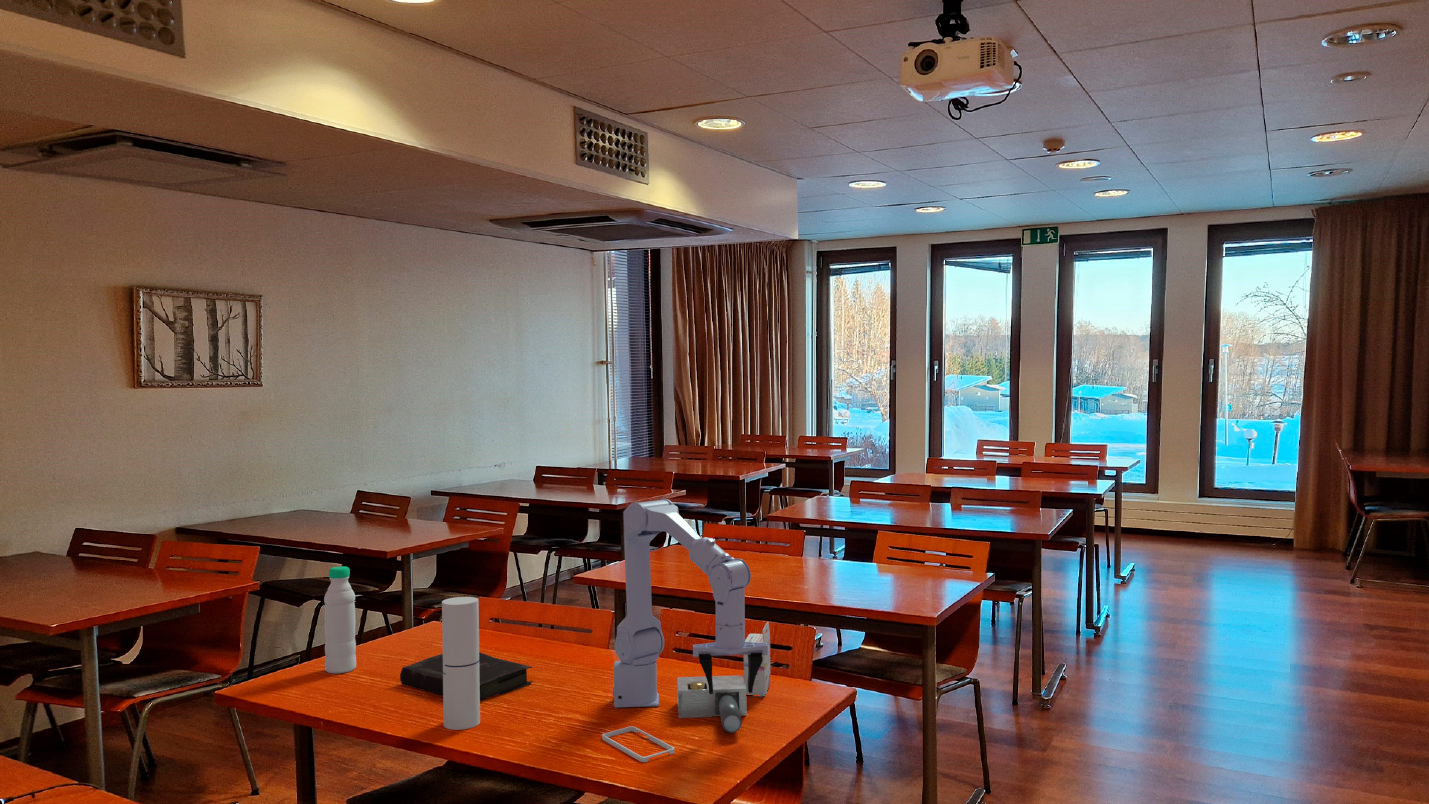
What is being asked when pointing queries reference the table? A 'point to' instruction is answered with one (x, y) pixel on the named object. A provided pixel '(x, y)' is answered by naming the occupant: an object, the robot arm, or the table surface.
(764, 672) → the ink cartridge box
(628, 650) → the robot arm
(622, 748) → the phone case
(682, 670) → the table surface
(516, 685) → the diary
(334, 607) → the water bottle
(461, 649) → the cylindrical container
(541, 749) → the table surface
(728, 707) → the cartridge
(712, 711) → the housing
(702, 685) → the plunger
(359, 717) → the table surface
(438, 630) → the table surface
